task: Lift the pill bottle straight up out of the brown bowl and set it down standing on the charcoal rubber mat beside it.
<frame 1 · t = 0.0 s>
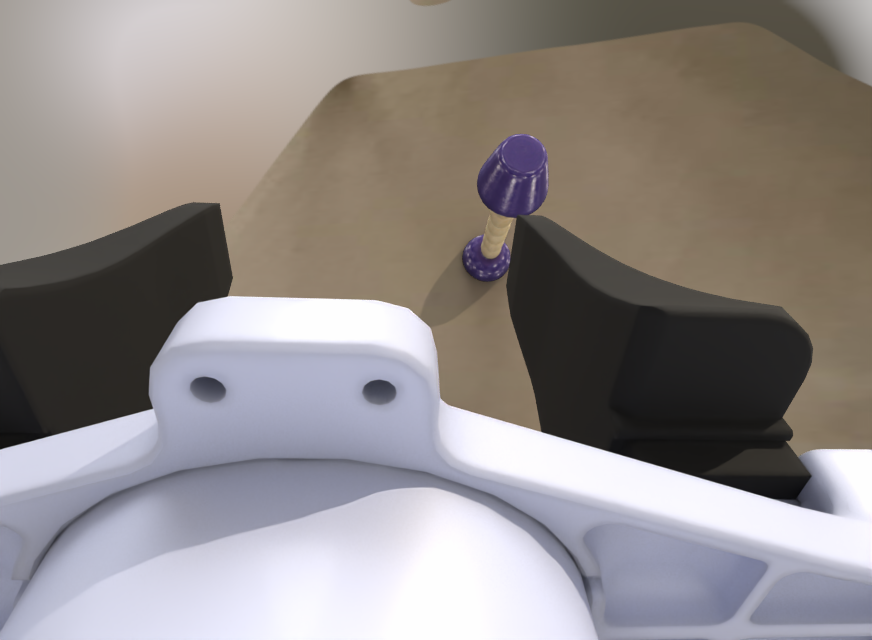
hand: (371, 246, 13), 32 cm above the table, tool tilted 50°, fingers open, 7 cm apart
toy lamp: (483, 257, 48), on the table
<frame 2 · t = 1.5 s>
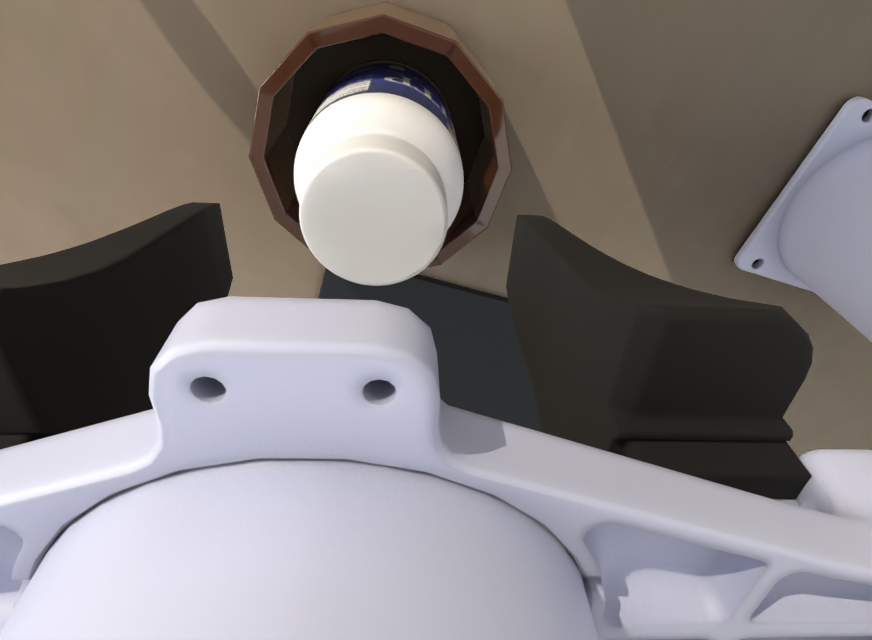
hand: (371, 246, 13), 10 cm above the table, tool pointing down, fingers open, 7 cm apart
mat: (458, 370, 29), on the table
brown bowl: (386, 129, 22), on the table
pill bottle: (386, 128, 22), resting in brown bowl
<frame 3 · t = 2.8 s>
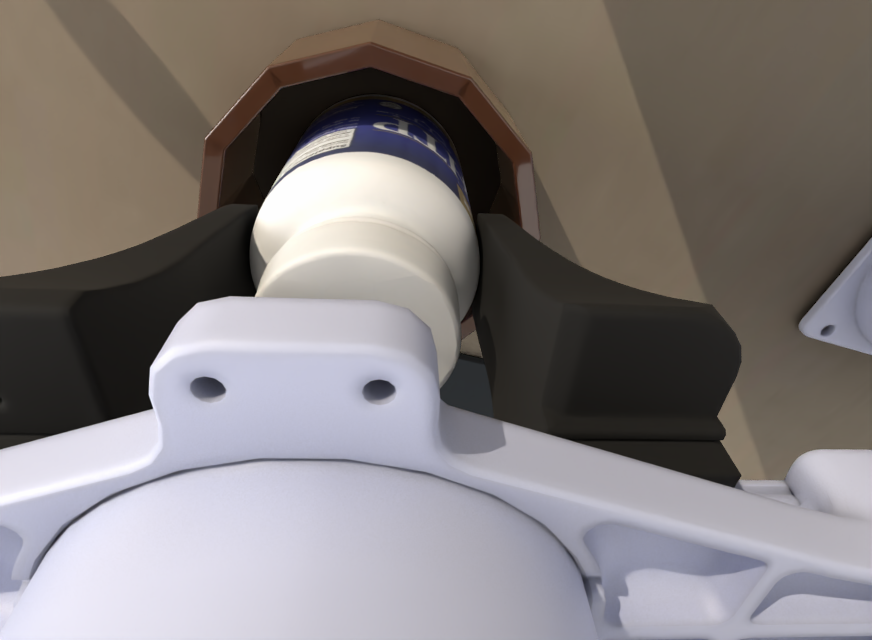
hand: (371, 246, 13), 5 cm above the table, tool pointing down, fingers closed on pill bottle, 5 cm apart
mat: (465, 446, 25), on the table
brown bowl: (378, 177, 17), on the table
pill bottle: (379, 175, 18), resting in brown bowl, touching gripper
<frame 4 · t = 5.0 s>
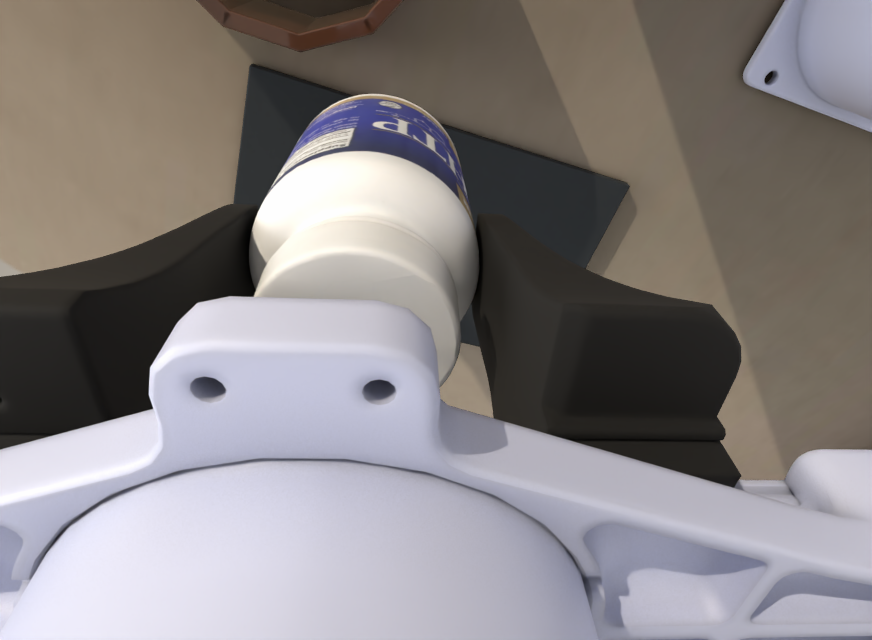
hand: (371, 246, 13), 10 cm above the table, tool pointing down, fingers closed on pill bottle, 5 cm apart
mat: (418, 234, 25), on the table
pill bottle: (378, 174, 18), point 5 cm above the table, touching gripper
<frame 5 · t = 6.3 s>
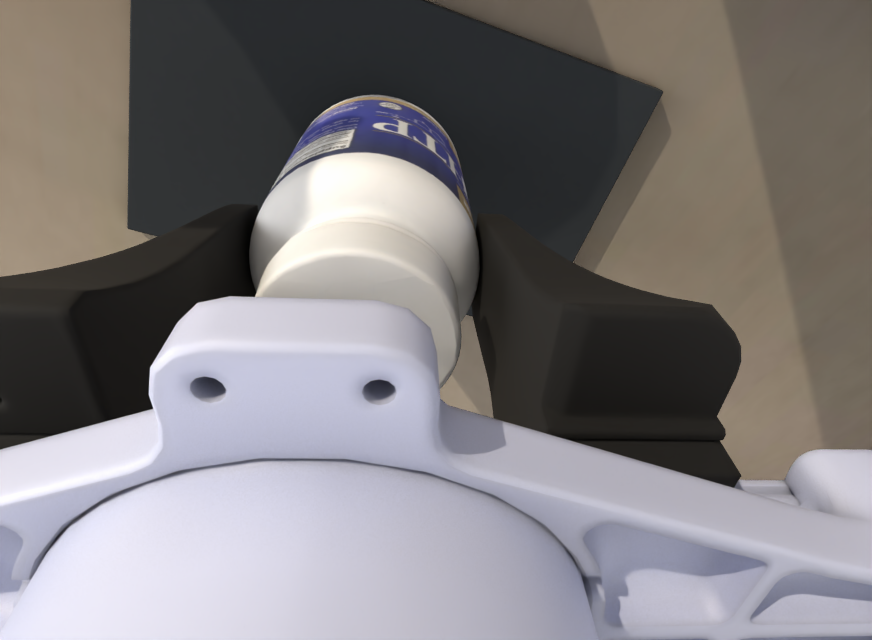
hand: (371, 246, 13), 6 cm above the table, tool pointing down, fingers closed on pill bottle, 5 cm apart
mat: (381, 160, 19), on the table
pill bottle: (378, 175, 18), point 1 cm above the table, touching gripper
when the fingers open (5 cm above the table, at t = 7.2 s): pill bottle stays where it is, resting on mat.
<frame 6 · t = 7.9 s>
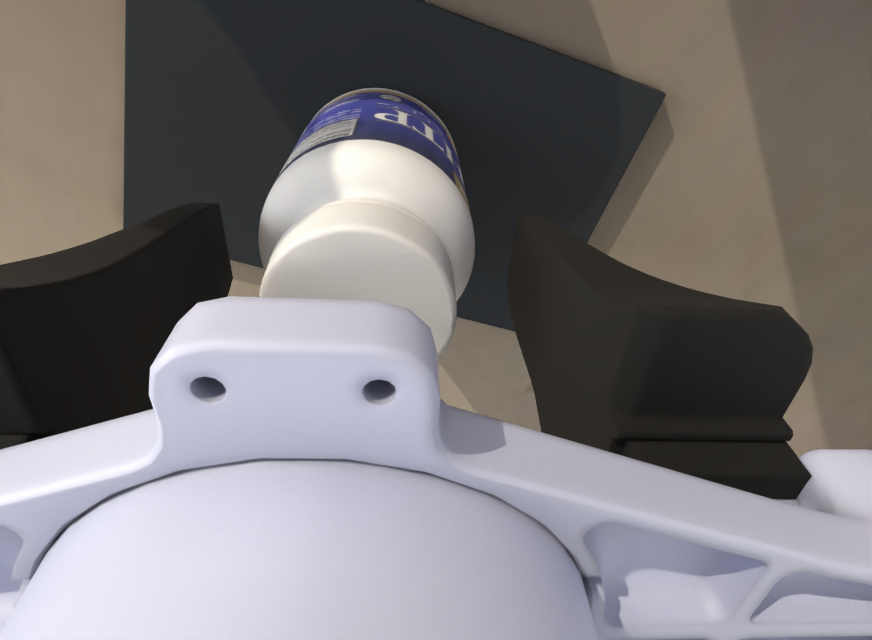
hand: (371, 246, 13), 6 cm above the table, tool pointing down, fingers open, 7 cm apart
mat: (381, 163, 19), on the table
pill bottle: (379, 165, 18), resting on mat
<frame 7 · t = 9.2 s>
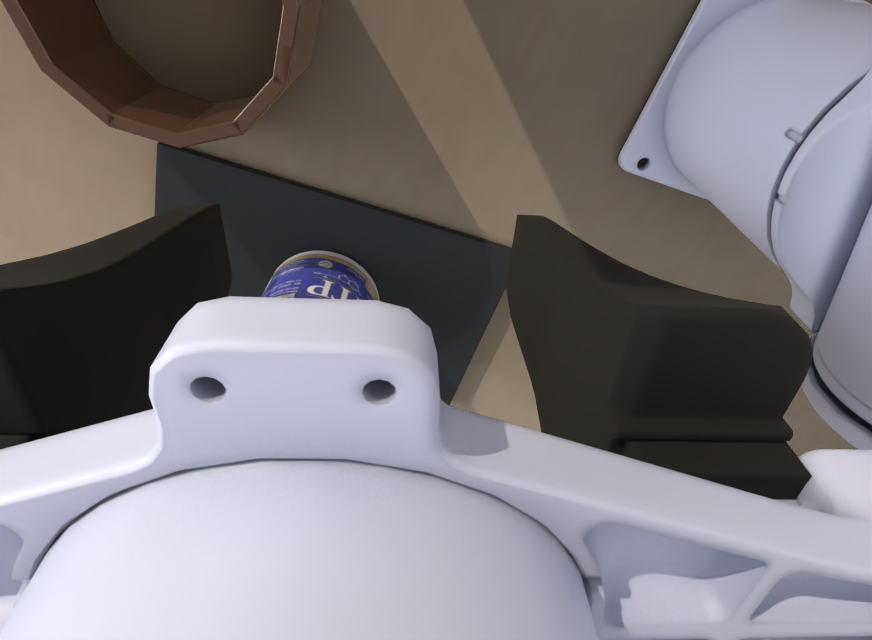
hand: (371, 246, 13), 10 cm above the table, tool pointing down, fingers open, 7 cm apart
mat: (327, 290, 26), on the table
pill bottle: (326, 293, 26), resting on mat
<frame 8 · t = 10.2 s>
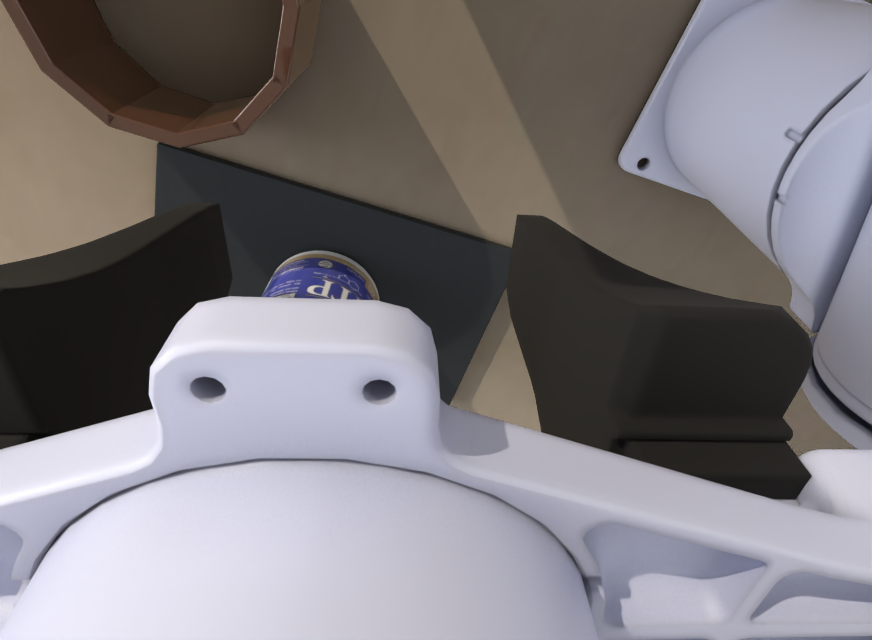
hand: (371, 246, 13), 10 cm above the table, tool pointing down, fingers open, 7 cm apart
mat: (327, 290, 26), on the table
pill bottle: (326, 293, 26), resting on mat
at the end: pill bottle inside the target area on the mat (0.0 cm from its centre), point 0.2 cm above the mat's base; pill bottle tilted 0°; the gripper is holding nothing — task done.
